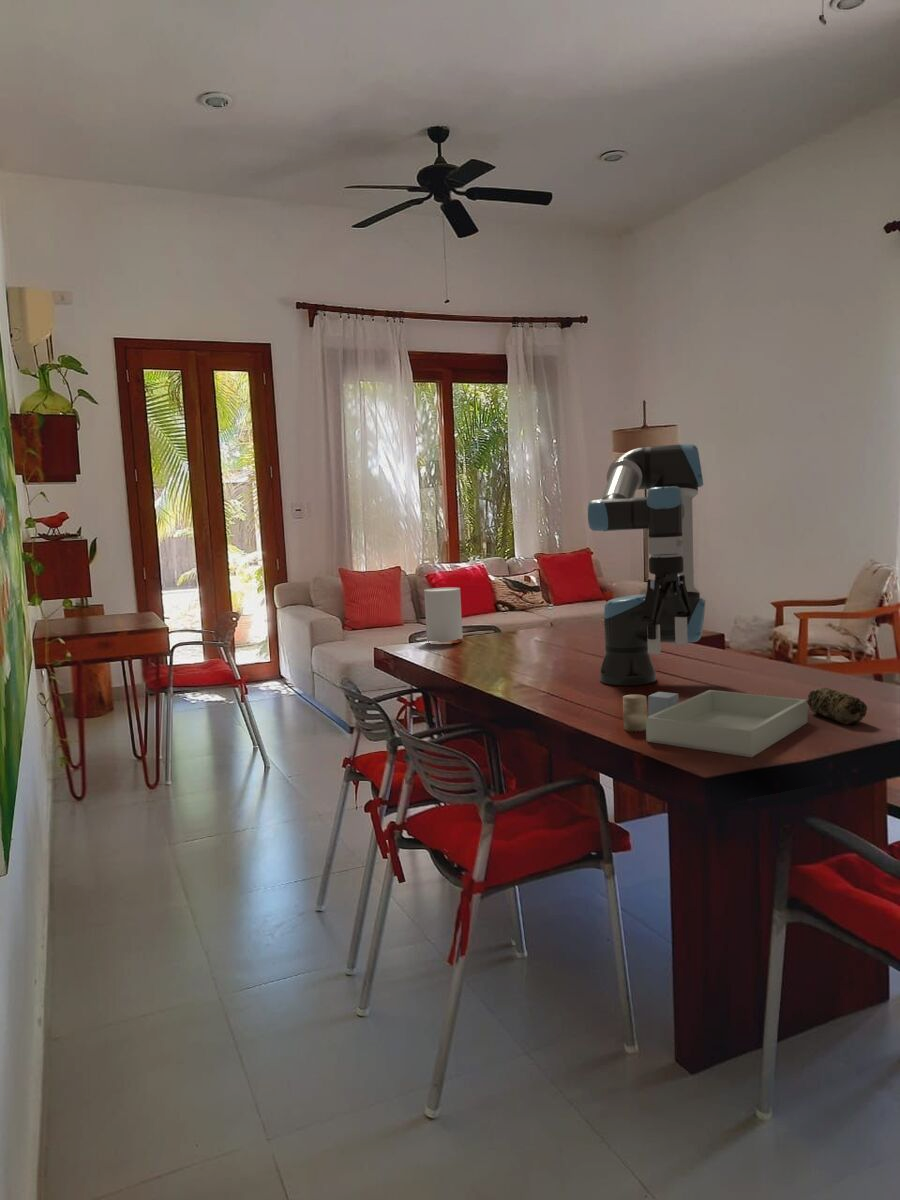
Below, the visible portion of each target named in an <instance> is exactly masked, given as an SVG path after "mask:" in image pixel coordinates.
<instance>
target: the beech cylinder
mask: <svg viewBox="0 0 900 1200" xmlns="http://www.w3.org/2000/svg"><path fill="white" fill-rule="evenodd" d="M647 703H648V701H647V696H646V695H643V694H627V695H623V696H622V712H623V713H622V714H623V716H622V717H623V719H622V720H623V730H624V729H625V730H624V731H626V730H627V731H628V732H633V731H635V732H636V733H638V732H637V731H639V732H644V731H645V732H646V717H648V708H647V707H648V706H647Z"/></svg>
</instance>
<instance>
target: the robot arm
mask: <svg viewBox="0 0 900 1200" xmlns="http://www.w3.org/2000/svg"><path fill="white" fill-rule="evenodd" d="M698 449H699V447H698V446H696V444H692V443H691V444H687V443H686V444H682V443H678V444H670V445H669V444H667V445H659V446H658V445H657V446H642V447H641V446H640V447H637V448H634V449H631V450H629V451H627V452H624V453H623V454H621V455H620V456H618V457H617V458H616V459H615V460H613V461H612V463H611V464H610V465H609V467H608V470H607V472H606V483H607V484H606V486H605V489H604V492H603V495H602V497H601V498H599V499H592V500H590V501H589V502H588V505H587V521H588V527H589V529H590V530H591V531H593V532H609V531H613V532H614V531H629V530H647V531H648V535H647V536H648V539H647V540H648V542H647V543H648V544H647V545H648V549H647V550H648V551H647V552H648V555H649V556H650V557H649V558H648V572H649V573H650V574H651V575H654V579H650V578H648V579H647V582H646V583H647V584H646V585H647V587H646V593H645V594H632V595H626V596H620V597H616V598H612V599H610V600H607V601H606V602H605V604H604V606H603V607H604V609H603V610H604V611H603V613H604V614H603V620H604V647H605V651H604V652H605V653H604V657H603V660H602V664H601V668H600V670H599V680H600V682H601V683H602V684H606V685H610V686H611V685H613V686H641V685H647V684H652V683H655V682H656V680H657V675H656V673H657V672H656V669H655V667H654V663H653V660H652V658H651V656H650V654H651V655H660V654H661V644H663V643H666V644H667V643H668V644H669V643H670V644H671V643H672V644H673V643H674V644H675V645H676V646H688V643H696V642H699V641H700V640H701V638H702V634H703V628H704V620H705V611H706V599H704V598H702V597H701V595H700V594H701V593H700V591H699V590H698V589H697V588H696V587H695V582H694V579H695V576H694V533H693V532H694V528H693V527H694V524H693V521H694V520H693V516H694V515H693V499H694V498H695V497H696V496H697V495H698V494H699V493H698V492H699V488H702V487H703V486H704V479H703V474H702V466H701V460H700V459H701V458H700V454H699V450H698ZM637 490H647V491H646V492H647V495H646V496H647V497H646V496H644V497H635V493H636V491H637Z"/></svg>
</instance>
